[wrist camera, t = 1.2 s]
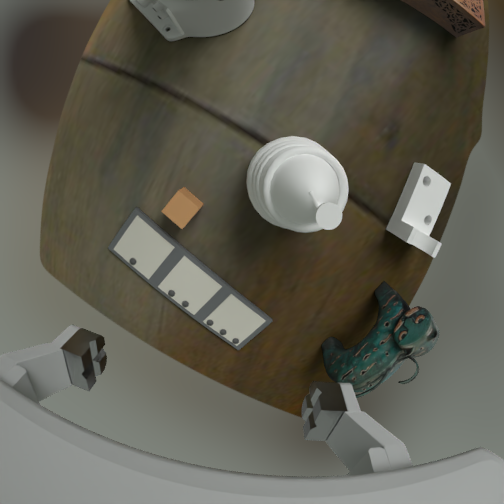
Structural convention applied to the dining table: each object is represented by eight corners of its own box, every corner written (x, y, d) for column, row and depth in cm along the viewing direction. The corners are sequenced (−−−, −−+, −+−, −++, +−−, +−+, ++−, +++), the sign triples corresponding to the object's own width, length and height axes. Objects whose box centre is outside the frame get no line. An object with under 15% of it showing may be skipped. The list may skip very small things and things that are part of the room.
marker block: (168, 206, 43) (161, 211, 39) (184, 186, 42) (178, 190, 38) (187, 222, 44) (182, 229, 40) (203, 203, 43) (199, 208, 39)
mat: (109, 246, 44) (106, 248, 43) (137, 206, 42) (134, 208, 41) (238, 347, 52) (238, 351, 51) (272, 318, 50) (272, 322, 49)
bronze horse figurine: (386, 270, 47) (448, 331, 28) (404, 289, 49) (461, 349, 30) (312, 343, 52) (337, 424, 33) (333, 357, 54) (361, 433, 35)
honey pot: (343, 194, 43) (400, 221, 26) (275, 236, 45) (293, 288, 28) (302, 123, 39) (341, 104, 22) (229, 166, 41) (219, 175, 24)
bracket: (412, 243, 46) (434, 257, 39) (385, 228, 45) (406, 242, 38) (439, 180, 42) (465, 187, 35) (413, 162, 41) (438, 165, 34)
